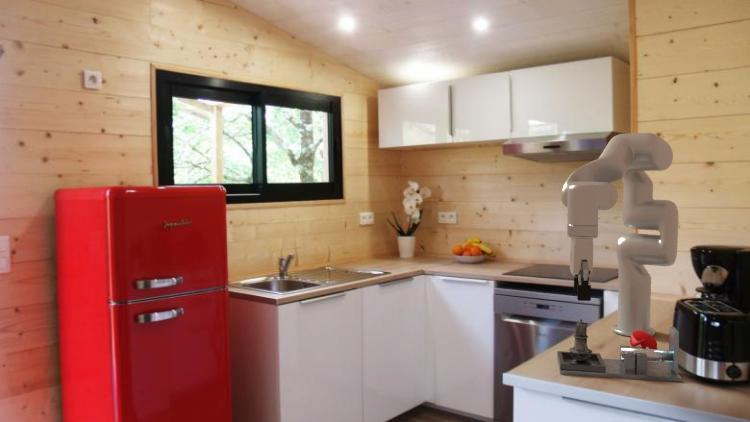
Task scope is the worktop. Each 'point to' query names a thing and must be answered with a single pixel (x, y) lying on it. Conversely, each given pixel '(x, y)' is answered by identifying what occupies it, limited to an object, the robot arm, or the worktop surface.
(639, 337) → the cap
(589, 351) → the salt shaker
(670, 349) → the shaft
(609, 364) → the jig
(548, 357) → the worktop surface
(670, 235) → the robot arm
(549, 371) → the worktop surface
